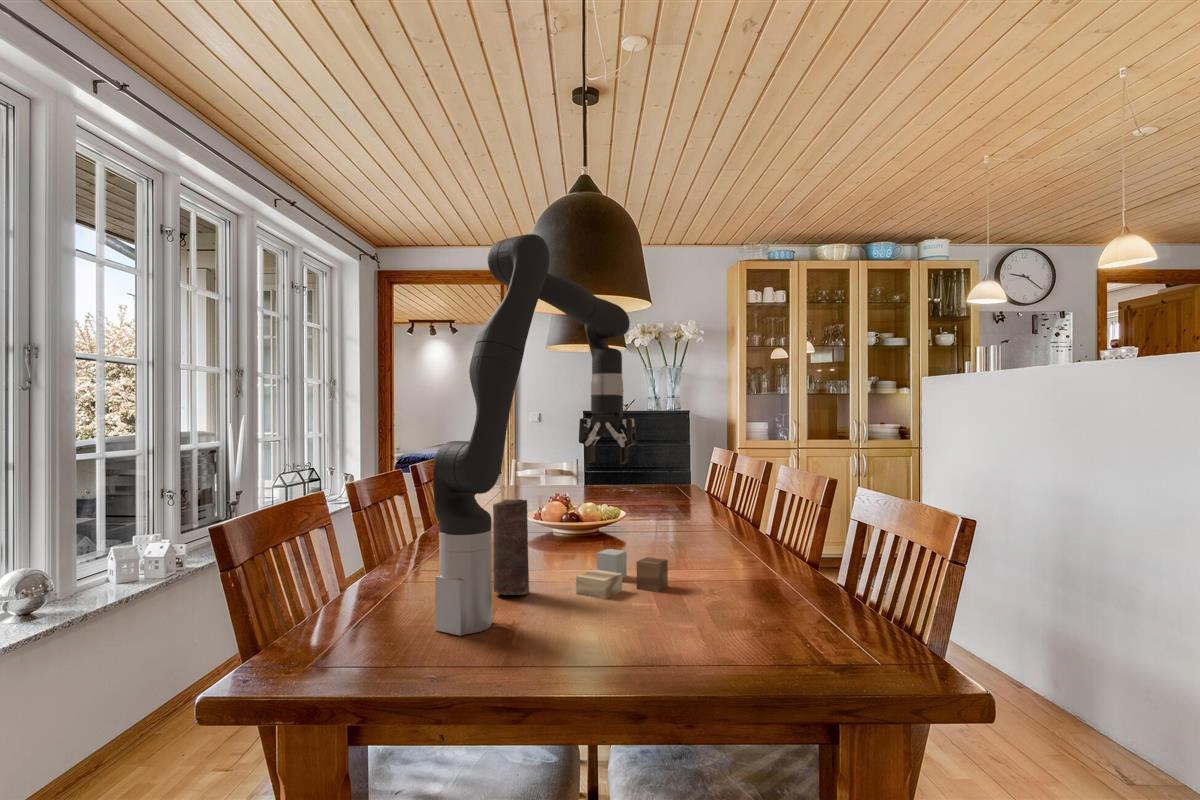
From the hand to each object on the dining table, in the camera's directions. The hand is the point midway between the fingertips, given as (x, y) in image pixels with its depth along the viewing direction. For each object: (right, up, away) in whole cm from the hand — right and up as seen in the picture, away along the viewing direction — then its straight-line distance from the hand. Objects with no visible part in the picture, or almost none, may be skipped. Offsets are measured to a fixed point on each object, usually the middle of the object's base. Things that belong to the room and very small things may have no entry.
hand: (607, 462), depth 155 cm
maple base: (-2, -26, -14) cm, 30 cm away
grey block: (+1, -26, -2) cm, 26 cm away
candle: (-20, -26, -15) cm, 37 cm away
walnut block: (+10, -26, -11) cm, 30 cm away
